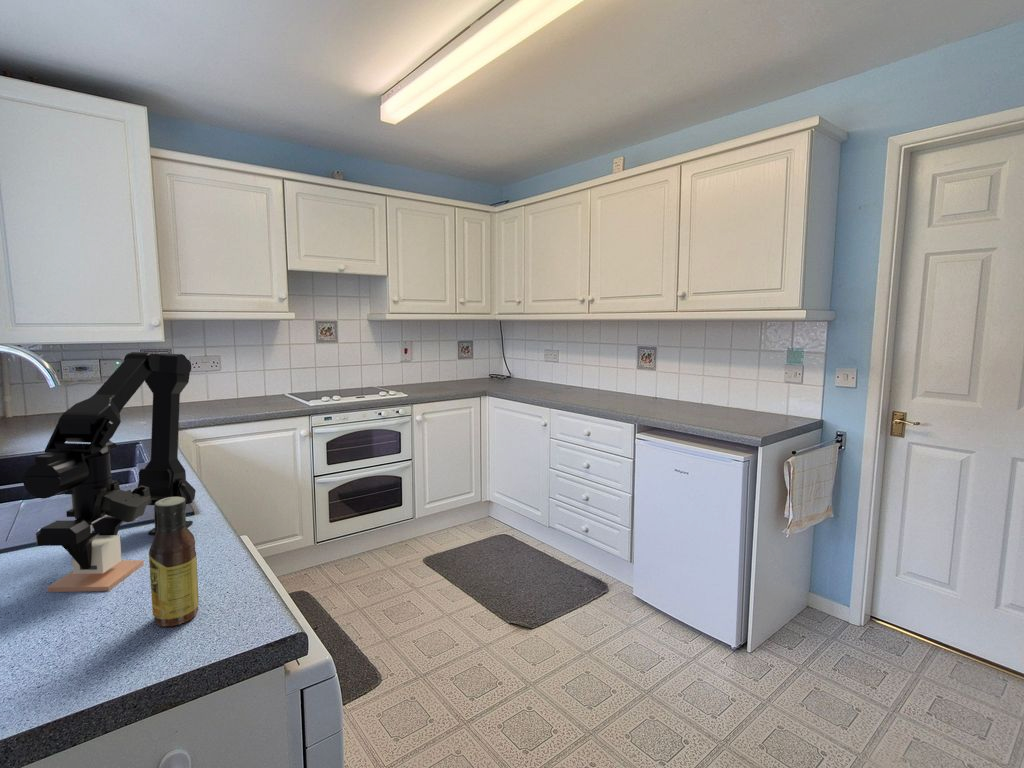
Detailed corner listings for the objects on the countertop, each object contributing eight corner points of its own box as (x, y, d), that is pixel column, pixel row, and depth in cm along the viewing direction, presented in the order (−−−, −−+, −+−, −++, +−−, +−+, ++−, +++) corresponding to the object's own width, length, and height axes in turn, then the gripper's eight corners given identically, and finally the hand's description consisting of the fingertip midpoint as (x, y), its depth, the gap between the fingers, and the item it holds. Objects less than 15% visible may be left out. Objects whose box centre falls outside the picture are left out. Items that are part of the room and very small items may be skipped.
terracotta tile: (88, 564, 100) (88, 560, 100) (143, 564, 101) (143, 560, 101) (47, 591, 90) (46, 587, 90) (108, 590, 91) (108, 586, 91)
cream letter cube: (93, 560, 98) (91, 535, 97) (121, 560, 98) (119, 535, 97) (72, 574, 93) (70, 547, 92) (102, 573, 93) (100, 547, 92)
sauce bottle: (158, 611, 85) (151, 494, 83) (201, 604, 88) (196, 490, 85) (148, 634, 79) (140, 509, 77) (195, 625, 82) (190, 504, 79)
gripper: (103, 497, 85) (109, 587, 87) (168, 464, 103) (172, 539, 105) (29, 497, 84) (37, 588, 86) (108, 464, 102) (113, 540, 104)
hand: (97, 561), depth 95 cm, fingers closed on cream letter cube, 5 cm apart
